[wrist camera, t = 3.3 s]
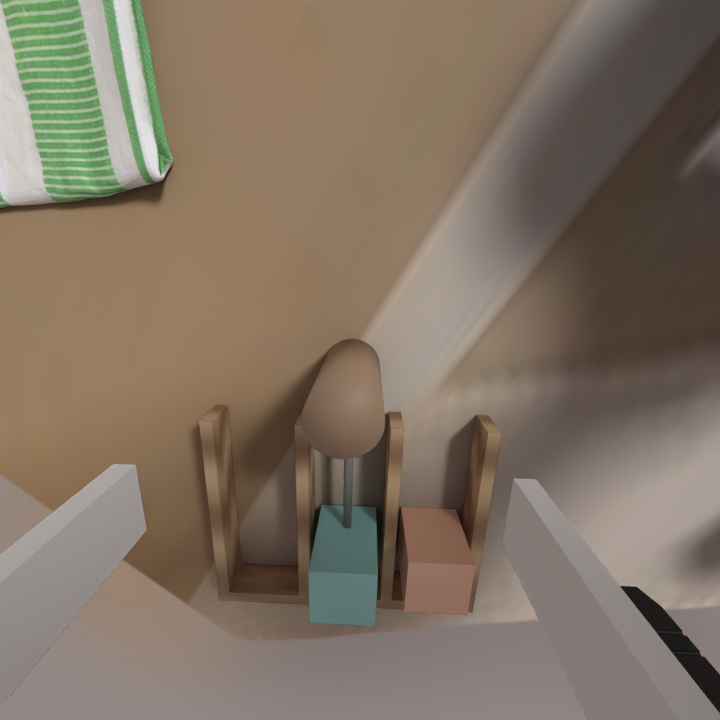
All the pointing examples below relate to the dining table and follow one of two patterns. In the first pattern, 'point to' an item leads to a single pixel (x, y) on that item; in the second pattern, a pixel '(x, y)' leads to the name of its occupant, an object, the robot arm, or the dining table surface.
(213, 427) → the oak lanes
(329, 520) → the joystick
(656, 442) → the dining table surface
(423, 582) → the terracotta block
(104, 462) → the dining table surface
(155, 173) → the dish towel
